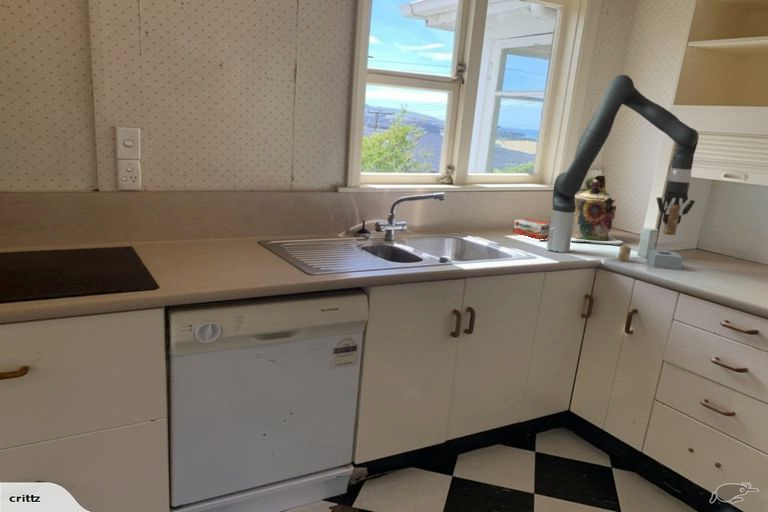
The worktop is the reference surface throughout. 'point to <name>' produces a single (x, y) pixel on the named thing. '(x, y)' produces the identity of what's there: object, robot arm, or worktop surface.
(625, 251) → the short pin
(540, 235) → the medicine box
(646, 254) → the skincare box
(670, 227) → the long pin
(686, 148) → the robot arm
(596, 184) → the cookie jar
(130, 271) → the worktop surface
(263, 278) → the worktop surface
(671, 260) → the socket block
